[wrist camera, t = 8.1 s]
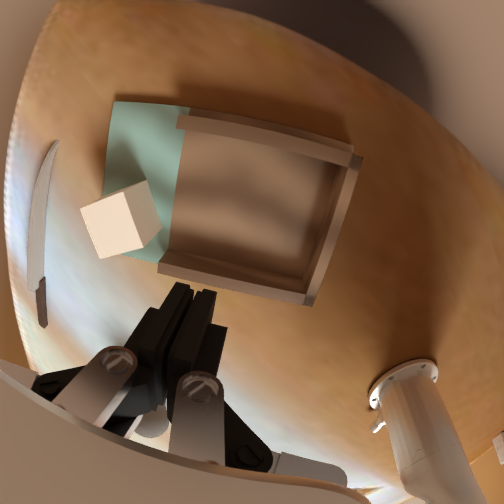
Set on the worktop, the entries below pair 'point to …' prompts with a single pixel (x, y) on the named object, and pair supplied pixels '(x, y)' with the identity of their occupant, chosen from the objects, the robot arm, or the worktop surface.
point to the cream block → (122, 220)
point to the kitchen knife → (39, 236)
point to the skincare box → (499, 446)
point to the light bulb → (153, 423)
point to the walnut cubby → (234, 196)
